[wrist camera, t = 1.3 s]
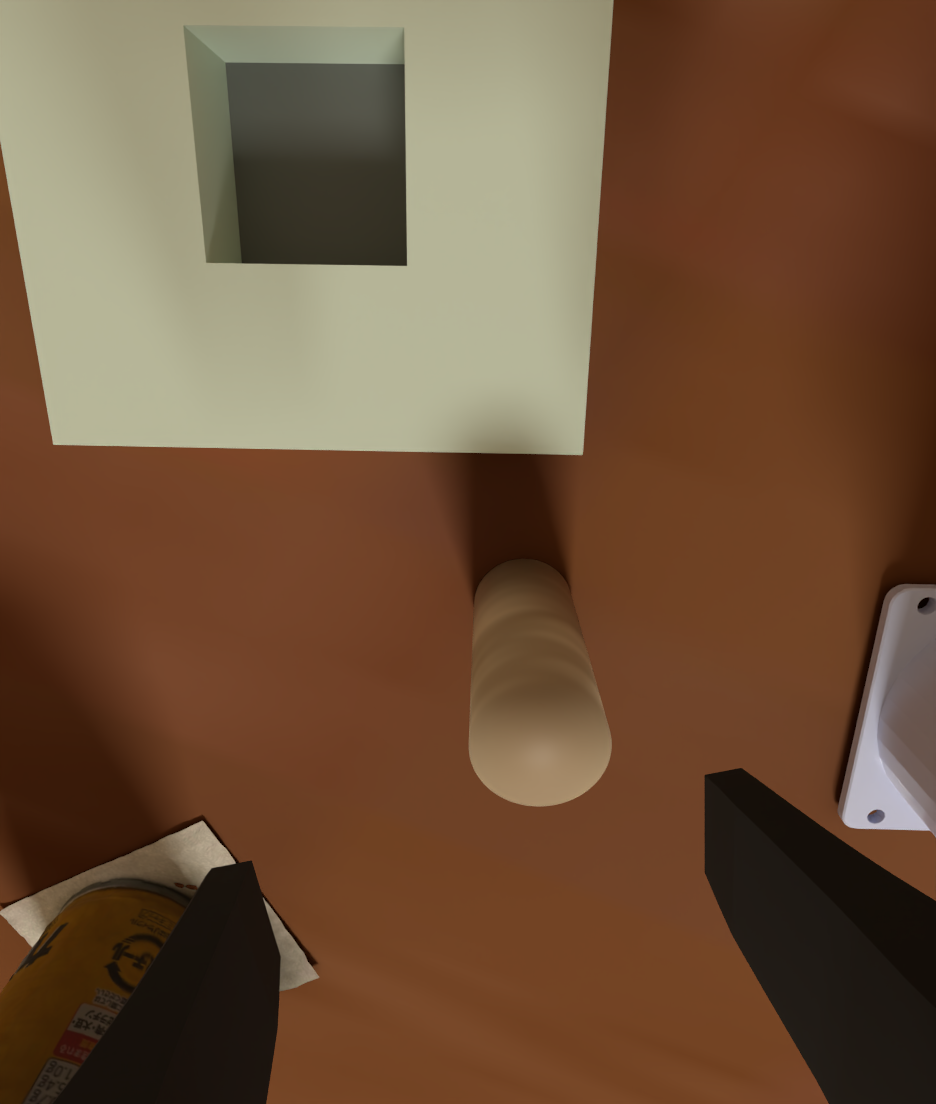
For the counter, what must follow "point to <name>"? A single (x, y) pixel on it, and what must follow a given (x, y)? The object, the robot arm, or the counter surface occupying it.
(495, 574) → the dowel
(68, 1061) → the condiment
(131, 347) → the hole block
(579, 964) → the counter surface
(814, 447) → the counter surface
